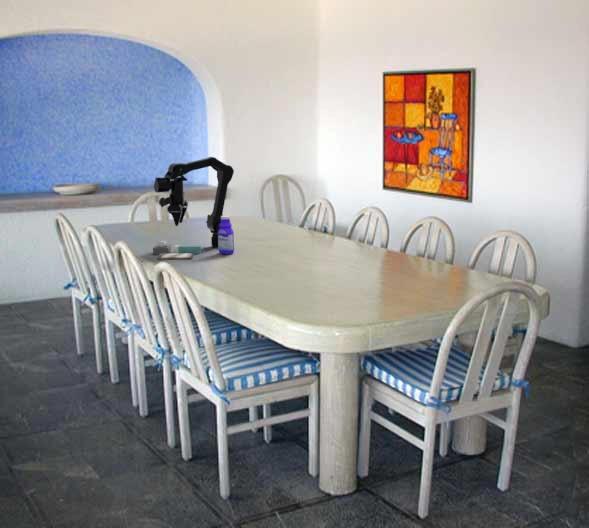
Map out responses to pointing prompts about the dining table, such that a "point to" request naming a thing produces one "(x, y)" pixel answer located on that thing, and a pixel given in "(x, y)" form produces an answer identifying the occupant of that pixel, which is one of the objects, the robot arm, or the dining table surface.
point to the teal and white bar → (187, 249)
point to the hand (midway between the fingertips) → (178, 224)
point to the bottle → (225, 236)
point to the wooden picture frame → (175, 255)
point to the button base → (161, 249)
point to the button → (161, 243)
